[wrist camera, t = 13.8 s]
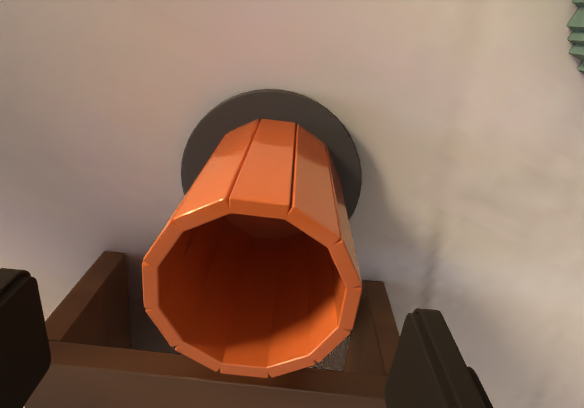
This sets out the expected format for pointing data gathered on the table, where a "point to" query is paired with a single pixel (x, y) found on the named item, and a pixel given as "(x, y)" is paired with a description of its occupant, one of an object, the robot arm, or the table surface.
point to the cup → (257, 257)
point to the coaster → (281, 109)
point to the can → (578, 33)
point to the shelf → (185, 371)
